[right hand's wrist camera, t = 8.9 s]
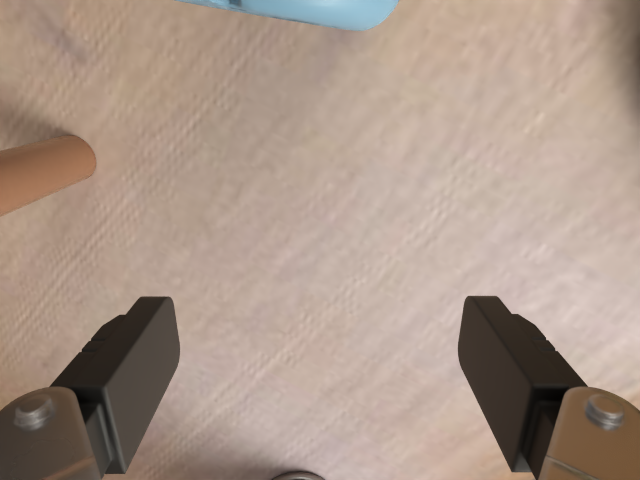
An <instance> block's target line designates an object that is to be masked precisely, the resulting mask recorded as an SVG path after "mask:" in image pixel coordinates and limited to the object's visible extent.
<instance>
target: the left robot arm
mask: <svg viewBox="0 0 640 480" xmlns="http://www.w3.org/2000/svg"><path fill="white" fill-rule="evenodd" d="M176 1H181V2H186V3H192V4H197V5H203V6H208V7H214V8H219V9H225V10H231V11H236V12H242V13H248V14H253V15H259V16H265V17H271V18H277V19H283V20H289V21H295V22H301V23H307V24H313V25H319V26H325V27H332V28H338V29H345V30H354V31H363V30H368V29H370V28H373V27H375V26H376V25H378V24H380V23H381V22H382V21H384V20H385V19H386V18H387V17H388V16H389V14H390V13H391V12H392V11H393V10H394V8H395V7H396V5H397V3H398V1H399V0H176Z"/></svg>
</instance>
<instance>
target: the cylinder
mask: <svg viewBox="0 0 640 480" xmlns="http://www.w3.org/2000/svg"><path fill="white" fill-rule="evenodd" d="M95 167H96V158H95V154H94V152H93V150H92V149H91V147H90V146H89V145H88V144H87V143H86V142H85V141H84V140H82V139H80V138H78V137H76V136H72V135H64V136H60V137H55V138H51V139H47V140H43V141H39V142H35V143H30V144H26V145H22V146H18V147H14V148H10V149H5V150H1V151H0V217H1V216H4V215H6V214H8V213H10V212H13V211H15V210H17V209H19V208H22V207H24V206H26V205H28V204H31V203H33V202H35V201H37V200H39V199H42V198H44V197H46V196H48V195H51V194H53V193H55V192H57V191H60V190H62V189H64V188H66V187H69V186H71V185H73V184H75V183H78V182H80V181H82V180H84V179H86V178H88V177H90V176H91V175H92V174H93V172H94V170H95Z"/></svg>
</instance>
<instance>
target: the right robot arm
mask: <svg viewBox="0 0 640 480" xmlns="http://www.w3.org/2000/svg"><path fill="white" fill-rule="evenodd" d="M179 356H180V343H179V336H178V330H177V323H176V316H175V310H174V304H173V301H172V299H171V297H140V298H139V299H138V300H137V301H136V303H135V304H134V305H133V306H132V308H131V309H130V310H129V311H128V312H127V314H126V315H119V316H117V317H115V318H114V319H112V320H111V321H109V322H108V323H106V324H104V325H103V326H102V327H101V328H100V329H99V330H98V331H97V333H96V334H95V335H94V336H93V337H92V338H91V341H89V342H88V343H87V344H86V345H85V346H84V347H83V349H82V352H79V353H78V354H77V356H76V357H75V358H74V359H73V360H72V361H71V362H70V364H69V365H68V366H67V367H66V368H65V369H64V371H63V372H62V373H61V374H60V375H59V376H58V377H57V379H56V380H55V381H54V382H53V383H52V384H51V385H50V387H47V388H42V389H38V390H35V391H32V392H30V393H27V394H25V395H23V396H21V397H19V398H17V399H15V400H14V401H12V402H11V403H9V404H8V405H7V406H5V407H4V408H3V409H2V410H1V411H0V480H102V478H103V476H104V474H125V473H126V471H127V469H128V467H129V465H130V463H131V461H132V459H133V456H134V454H135V452H136V450H137V448H138V446H139V444H140V442H141V440H142V438H143V436H144V434H145V432H146V430H147V428H148V426H149V424H150V422H151V420H152V418H153V416H154V414H155V411H156V409H157V407H158V405H159V403H160V401H161V399H162V397H163V395H164V393H165V391H166V389H167V387H168V385H169V383H170V381H171V379H172V377H173V375H174V373H175V371H176V368H177V366H178V362H179ZM458 356H459V362H460V365H461V368H462V370H463V372H464V374H465V376H466V378H467V380H468V383H469V385H470V387H471V389H472V391H473V393H474V395H475V397H476V399H477V401H478V403H479V405H480V407H481V409H482V411H483V414H484V416H485V418H486V420H487V422H488V424H489V426H490V428H491V430H492V432H493V434H494V436H495V438H496V440H497V443H498V445H499V447H500V449H501V451H502V453H503V455H504V457H505V459H506V461H507V463H508V465H509V467H510V469H511V471H512V472H532V473H533V475H534V477H535V479H536V480H640V411H639V410H638V409H637V408H636V407H635V406H633V405H632V404H631V403H629V402H628V401H626V400H625V399H623V398H621V397H619V396H617V395H615V394H613V393H610V392H608V391H605V390H602V389H598V388H593V387H588V386H587V385H586V384H585V382H584V381H583V380H582V379H581V378H580V377H579V376H578V374H577V373H576V372H575V371H574V370H573V369H572V367H571V366H570V365H569V364H568V363H567V362H566V360H565V359H564V358H563V357H562V356H561V355H560V353H559V352H558V351H555V348H554V346H553V345H552V344H551V343H550V342H549V341H548V340H546V337H545V336H544V335H543V334H542V333H541V331H540V330H539V329H538V328H537V327H536V326H535V325H534V324H533V323H531V322H530V321H528V320H526V319H525V318H523V317H522V316H520V315H518V314H511V312H510V311H509V310H508V309H507V307H506V306H505V305H504V304H503V302H502V301H501V300H500V299H499V298H498V297H497V296H468V297H467V298H466V299H465V302H464V308H463V315H462V321H461V328H460V335H459V342H458ZM273 480H325V479H323V478H321V477H319V476H317V475H314V474H310V473H305V472H292V473H286V474H283V475H280V476H278V477H276V478H274V479H273Z"/></svg>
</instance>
